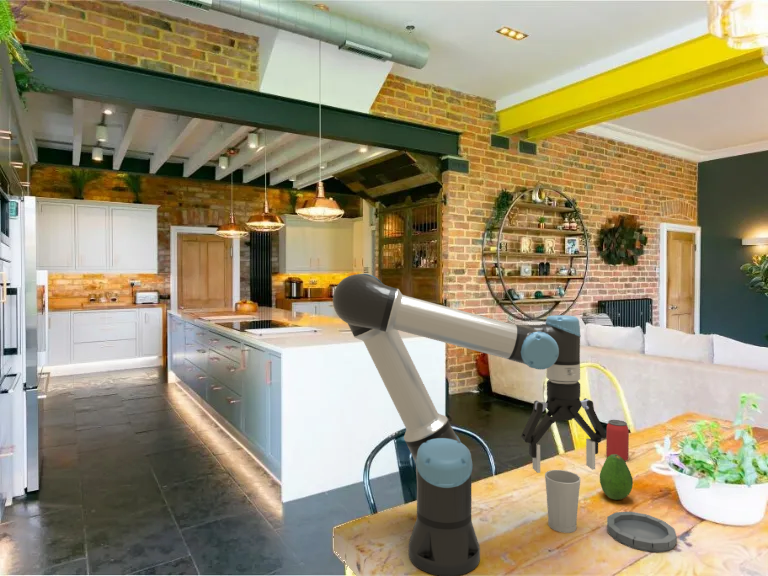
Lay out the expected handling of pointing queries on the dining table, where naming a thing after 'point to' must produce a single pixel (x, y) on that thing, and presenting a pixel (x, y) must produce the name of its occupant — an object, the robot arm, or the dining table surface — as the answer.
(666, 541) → the saucer
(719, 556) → the dining table surface
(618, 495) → the fruit
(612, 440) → the beer can
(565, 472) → the cup
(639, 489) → the dining table surface
